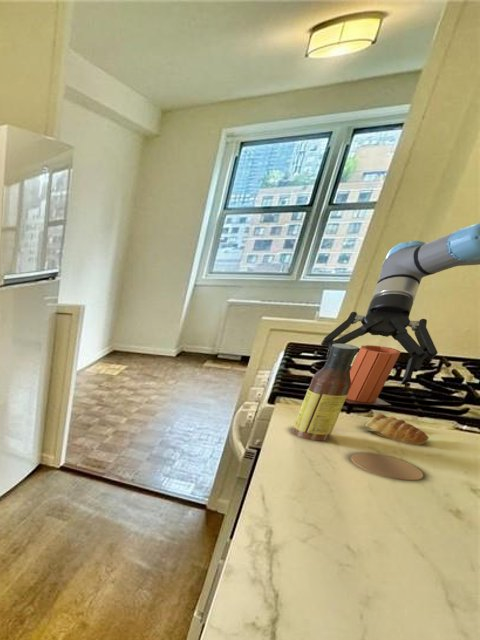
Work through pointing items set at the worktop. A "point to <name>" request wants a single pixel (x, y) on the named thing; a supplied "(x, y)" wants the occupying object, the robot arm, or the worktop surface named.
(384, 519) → the worktop surface
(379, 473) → the cork coaster
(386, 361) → the orange grooved cup
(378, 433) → the pastry
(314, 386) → the sauce bottle
